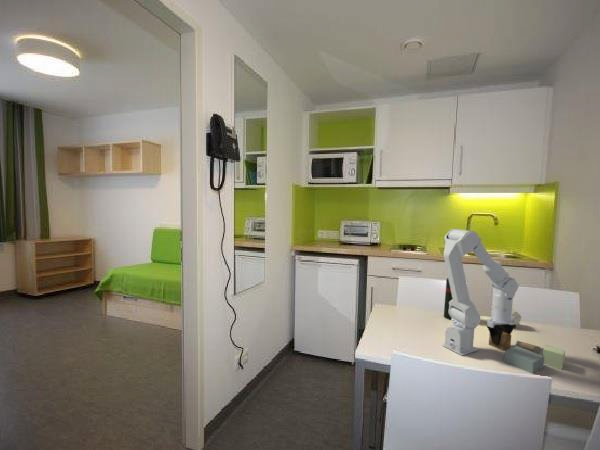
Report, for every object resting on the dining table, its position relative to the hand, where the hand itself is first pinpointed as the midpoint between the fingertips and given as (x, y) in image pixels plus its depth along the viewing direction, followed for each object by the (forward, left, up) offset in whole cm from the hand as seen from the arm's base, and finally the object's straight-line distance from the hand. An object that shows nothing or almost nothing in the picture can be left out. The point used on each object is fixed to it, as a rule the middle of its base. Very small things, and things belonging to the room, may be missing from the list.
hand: (499, 342), depth 110 cm
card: (+9, -5, -1) cm, 10 cm away
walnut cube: (0, 0, -1) cm, 1 cm away
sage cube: (+4, -15, -2) cm, 16 cm away
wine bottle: (+10, +25, -2) cm, 27 cm away
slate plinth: (-6, -11, -2) cm, 13 cm away
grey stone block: (+25, +10, -2) cm, 27 cm away
